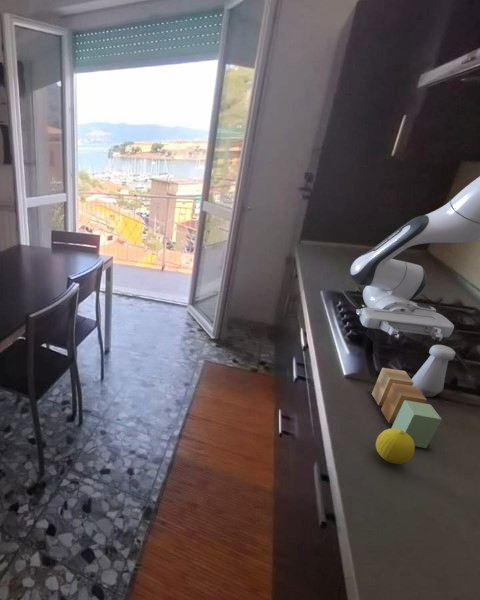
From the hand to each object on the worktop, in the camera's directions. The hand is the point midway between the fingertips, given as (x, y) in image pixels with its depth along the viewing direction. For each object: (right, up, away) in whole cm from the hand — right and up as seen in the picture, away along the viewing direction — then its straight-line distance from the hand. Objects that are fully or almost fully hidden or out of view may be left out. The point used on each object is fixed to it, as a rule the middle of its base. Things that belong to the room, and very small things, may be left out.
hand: (416, 335), depth 95 cm
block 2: (-17, -18, -13) cm, 28 cm away
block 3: (-19, -20, -19) cm, 34 cm away
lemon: (-28, -23, -24) cm, 43 cm away
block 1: (-15, -15, -8) cm, 23 cm away
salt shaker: (-4, -14, -6) cm, 15 cm away
